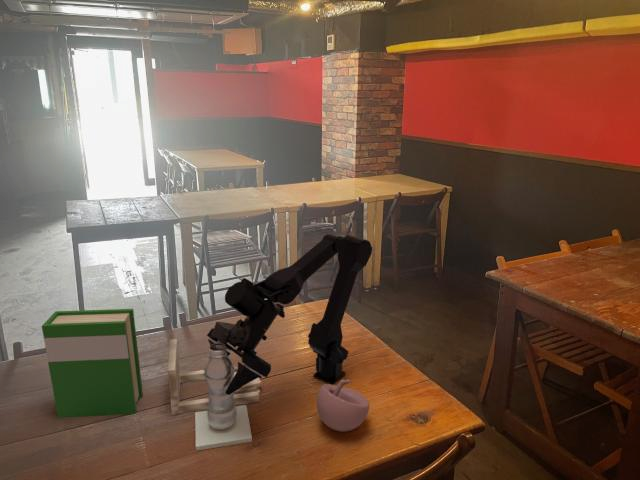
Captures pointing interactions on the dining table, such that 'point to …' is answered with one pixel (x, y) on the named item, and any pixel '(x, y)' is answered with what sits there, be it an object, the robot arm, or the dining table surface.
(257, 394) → the birch rack
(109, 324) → the hardback book
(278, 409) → the dining table surface
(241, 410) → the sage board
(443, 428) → the dining table surface
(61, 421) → the dining table surface
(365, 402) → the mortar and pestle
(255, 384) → the offcut stack
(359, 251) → the robot arm
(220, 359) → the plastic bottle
